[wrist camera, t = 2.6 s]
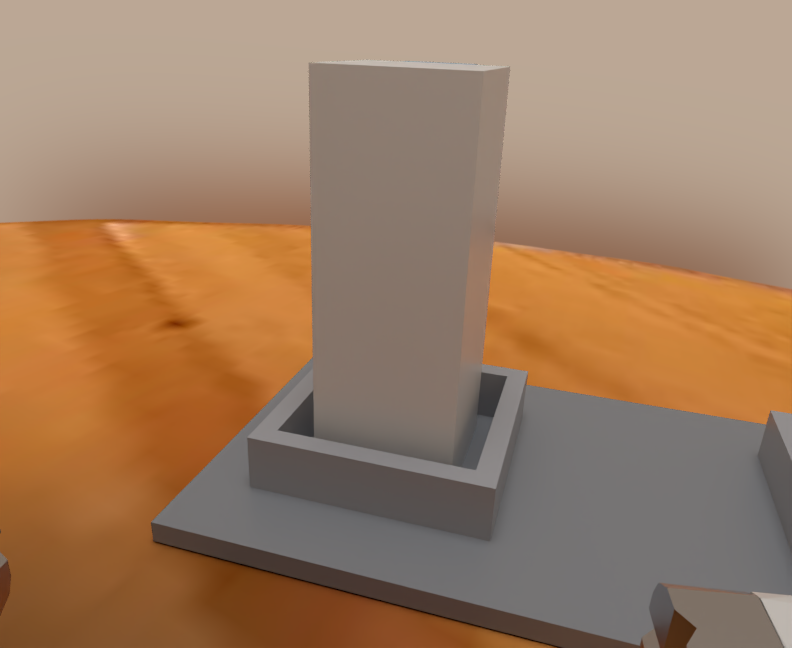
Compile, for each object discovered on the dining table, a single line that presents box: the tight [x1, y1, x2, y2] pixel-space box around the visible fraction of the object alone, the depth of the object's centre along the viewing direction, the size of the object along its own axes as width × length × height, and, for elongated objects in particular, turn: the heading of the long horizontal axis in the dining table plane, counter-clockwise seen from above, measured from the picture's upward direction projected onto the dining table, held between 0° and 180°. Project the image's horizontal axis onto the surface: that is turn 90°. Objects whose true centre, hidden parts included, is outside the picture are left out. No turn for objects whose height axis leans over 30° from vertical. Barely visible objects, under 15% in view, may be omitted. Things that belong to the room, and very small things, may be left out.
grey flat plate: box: [151, 358, 792, 648], centre depth 19 cm, size 24×11×2 cm, turn 73°
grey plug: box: [309, 60, 510, 467], centre depth 19 cm, size 4×5×11 cm
